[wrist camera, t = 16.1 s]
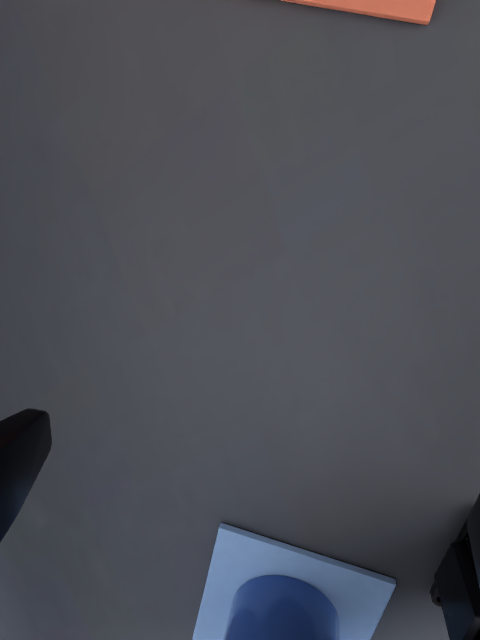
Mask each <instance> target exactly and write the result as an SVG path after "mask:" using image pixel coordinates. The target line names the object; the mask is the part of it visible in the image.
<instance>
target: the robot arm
mask: <svg viewBox="0 0 480 640" xmlns="http://www.w3.org/2000/svg"><path fill="white" fill-rule="evenodd" d="M51 445H52V437H51V428H50V418H49V414H48V413H47V412H46V411H43V410H37V409H25V410H23V411H21V412H19V413H16V414H14V415H12V416H10V417H8V418H6V419H4V420H1V421H0V542H1V540H2V539H3V537H4V536H5V534H6V533H7V531H8V530H9V528H10V526H11V525H12V523H13V521H14V520H15V518H16V516H17V514H18V513H19V511H20V509H21V507H22V505H23V503H24V501H25V499H26V497H27V495H28V493H29V491H30V489H31V487H32V485H33V483H34V482H35V480H36V478H37V476H38V474H39V472H40V470H41V468H42V466H43V464H44V462H45V460H46V458H47V456H48V454H49V452H50V449H51ZM430 595H431V599H432V602H433V603H434V604H436V605H438V606H440V607H442V610H443V614H444V618H445V622H446V626H447V630H448V634H449V638H450V640H480V494H479V496H478V498H477V500H476V502H475V504H474V506H473V508H472V510H471V512H470V514H469V517H468V518H467V520H466V522H465V524H464V526H463V528H462V530H461V532H460V534H459V536H458V538H457V540H455V541H454V542H453V543H451V545H450V547H449V549H448V551H447V553H446V555H445V557H444V559H443V561H442V563H441V564H440V566H439V568H438V570H437V572H436V574H435V582H434V584H433V586H432V587H431V589H430Z"/></svg>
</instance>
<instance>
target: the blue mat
mask: <svg viewBox="0 0 480 640" xmlns="http://www.w3.org/2000/svg"><path fill="white" fill-rule="evenodd" d="M266 575H282V576H288V577H292V578H296V579H299V580H302V581H304V582H306V583H308V584H310V585H312V586H314V587H315V588H317V589H318V590H320V591H321V592H322V593H323V594H324V595H325V596H326V597H327V598H328V599H329V600H330V601H331V602H332V604H333V605H334V607H335V609H336V611H337V613H338V616H339V620H340V640H370V639H371V637H372V635H373V633H374V631H375V629H376V627H377V624H378V622H379V620H380V618H381V616H382V614H383V612H384V610H385V608H386V606H387V603H388V601H389V599H390V597H391V595H392V593H393V591H394V589H395V587H396V580H395V579H394V578H391V577H387V576H384V575H381V574H378V573H375V572H372V571H369V570H366V569H363V568H360V567H357V566H353V565H350V564H347V563H344V562H341V561H338V560H335V559H332V558H329V557H326V556H323V555H319V554H316V553H313V552H310V551H307V550H304V549H301V548H298V547H295V546H292V545H289V544H285V543H282V542H279V541H276V540H273V539H270V538H267V537H264V536H261V535H258V534H255V533H251V532H248V531H245V530H242V529H239V528H236V527H233V526H230V525H227V524H224V523H220V526H219V530H218V534H217V539H216V543H215V547H214V551H213V555H212V559H211V564H210V568H209V572H208V576H207V580H206V584H205V589H204V593H203V597H202V601H201V605H200V610H199V614H198V618H197V622H196V626H195V630H194V635H193V639H192V640H223V638H224V634H225V630H226V625H227V621H228V617H229V613H230V608H231V604H232V600H233V597H234V594H235V593H236V591H237V590H238V589H239V587H240V586H241V585H243V584H244V583H245V582H247V581H249V580H251V579H253V578H256V577H260V576H266Z"/></svg>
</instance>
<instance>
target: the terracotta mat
mask: <svg viewBox="0 0 480 640" xmlns="http://www.w3.org/2000/svg"><path fill="white" fill-rule="evenodd" d="M280 1H286V2H292V3H298V4H304V5H310V6H316V7H322V8H328V9H334V10H340V11H346V12H351V13H357V14H363V15H369V16H375V17H381V18H387V19H393V20H399V21H405V22H411V23H417V24H423V25H428V23H429V22H430V19H431V16H432V12H433V9H434V6H435V2H436V0H280Z"/></svg>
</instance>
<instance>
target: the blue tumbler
mask: <svg viewBox="0 0 480 640" xmlns="http://www.w3.org/2000/svg"><path fill="white" fill-rule="evenodd" d="M223 640H340V620H339V616H338V613H337V611H336V609H335V607H334V605H333V604H332V602H331V601H330V600H329V599H328V598H327V597H326V596H325V595H324V594H323V593H322V592H321V591H320V590H318V589H317V588H315V587H314V586H312V585H310V584H308V583H306V582H304V581H302V580H299V579H296V578H292V577H288V576H282V575H266V576H260V577H256V578H253V579H251V580H249V581H247V582H245V583H244V584H243V585H241V586H240V587H239V589H238V590H237V591H236V593H235V594H234V597H233V600H232V604H231V608H230V613H229V617H228V621H227V625H226V630H225V634H224V638H223Z"/></svg>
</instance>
